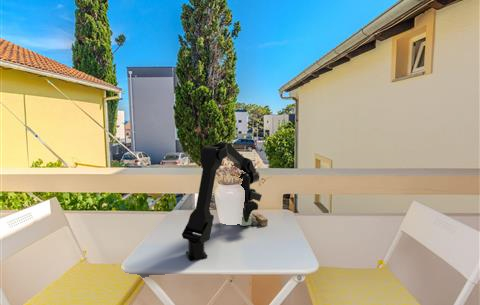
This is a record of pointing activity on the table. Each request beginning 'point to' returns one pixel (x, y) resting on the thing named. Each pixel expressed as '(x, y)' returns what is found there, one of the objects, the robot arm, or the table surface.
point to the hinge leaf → (248, 220)
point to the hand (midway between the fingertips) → (243, 219)
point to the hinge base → (259, 220)
